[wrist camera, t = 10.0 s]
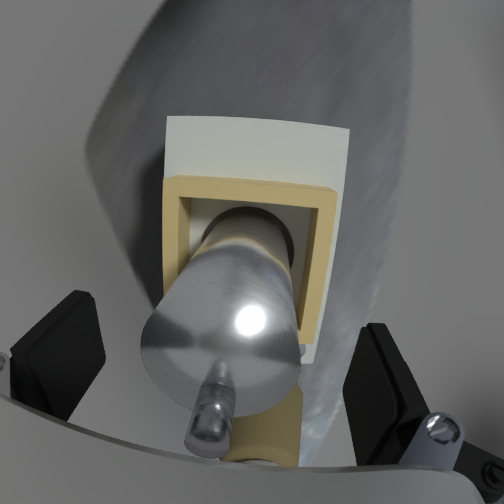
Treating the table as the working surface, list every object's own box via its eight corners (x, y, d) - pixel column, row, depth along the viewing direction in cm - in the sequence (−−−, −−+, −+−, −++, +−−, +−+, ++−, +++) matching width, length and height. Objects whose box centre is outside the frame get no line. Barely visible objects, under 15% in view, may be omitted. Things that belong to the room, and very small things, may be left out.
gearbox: (190, 123, 25) (151, 111, 16) (332, 134, 24) (362, 125, 16) (185, 314, 30) (156, 370, 22) (306, 326, 30) (316, 388, 21)
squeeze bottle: (238, 406, 34) (219, 541, 17) (217, 354, 32) (177, 505, 15) (306, 395, 33) (318, 537, 16) (293, 341, 31) (304, 502, 13)
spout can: (207, 209, 21) (97, 318, 7) (291, 216, 20) (325, 346, 7) (205, 285, 22) (130, 448, 9) (282, 292, 22) (288, 472, 9)
